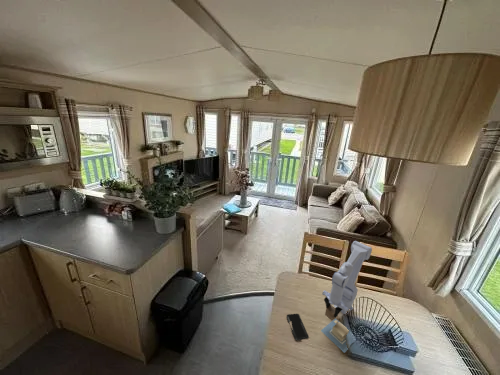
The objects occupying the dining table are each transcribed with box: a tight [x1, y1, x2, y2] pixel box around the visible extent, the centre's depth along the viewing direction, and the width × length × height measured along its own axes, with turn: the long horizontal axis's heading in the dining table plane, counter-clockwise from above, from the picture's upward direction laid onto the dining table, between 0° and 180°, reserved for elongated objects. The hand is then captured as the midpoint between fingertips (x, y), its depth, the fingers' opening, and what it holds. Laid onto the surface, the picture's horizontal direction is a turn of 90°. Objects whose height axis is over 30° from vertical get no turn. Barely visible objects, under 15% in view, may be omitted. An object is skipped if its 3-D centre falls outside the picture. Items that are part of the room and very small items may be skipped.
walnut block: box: [324, 305, 337, 321], centre depth 118 cm, size 4×4×4 cm
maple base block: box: [332, 321, 350, 342], centre depth 114 cm, size 6×6×4 cm
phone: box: [286, 313, 310, 342], centre depth 118 cm, size 8×1×15 cm
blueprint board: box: [320, 317, 349, 354], centre depth 115 cm, size 14×14×1 cm
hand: (331, 312), depth 118 cm, fingers closed on walnut block, 4 cm apart
